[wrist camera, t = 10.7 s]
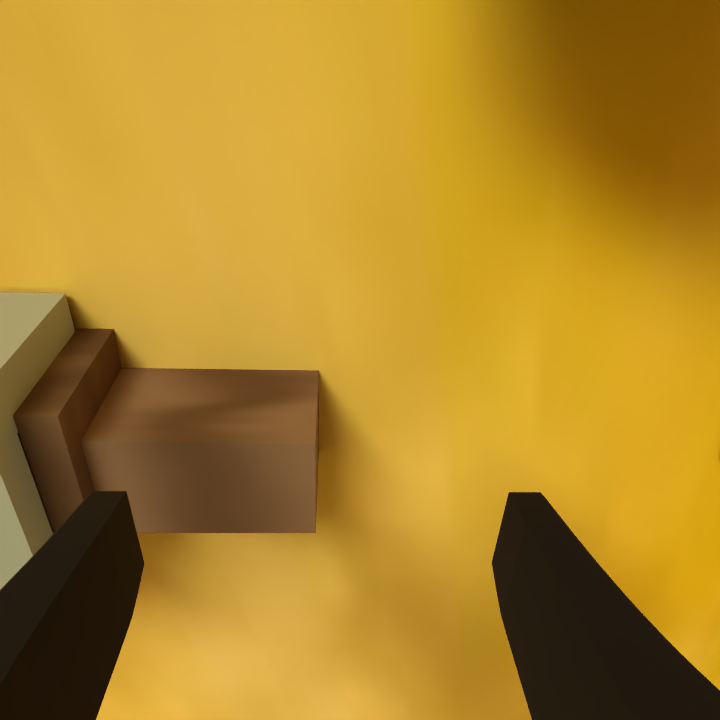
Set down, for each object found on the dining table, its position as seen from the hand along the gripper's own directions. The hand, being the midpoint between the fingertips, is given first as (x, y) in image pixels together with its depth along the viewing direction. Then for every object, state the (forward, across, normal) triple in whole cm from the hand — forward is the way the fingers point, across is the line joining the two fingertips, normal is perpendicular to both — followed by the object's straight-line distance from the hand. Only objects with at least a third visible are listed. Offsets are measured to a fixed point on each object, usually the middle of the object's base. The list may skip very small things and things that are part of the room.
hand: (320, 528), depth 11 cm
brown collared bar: (+10, +8, +5) cm, 14 cm away
